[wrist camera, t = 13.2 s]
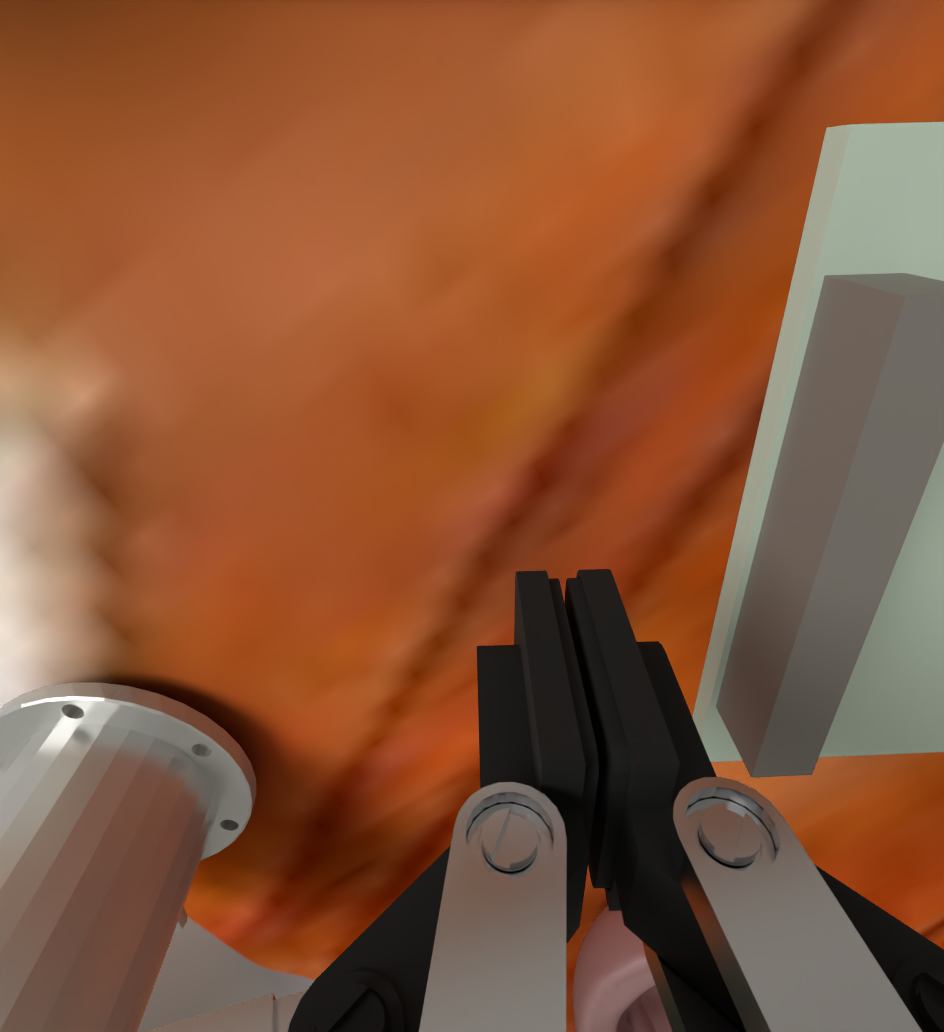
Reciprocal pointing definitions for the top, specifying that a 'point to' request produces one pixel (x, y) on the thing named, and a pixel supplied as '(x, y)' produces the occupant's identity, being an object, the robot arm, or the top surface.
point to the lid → (844, 482)
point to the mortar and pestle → (615, 981)
